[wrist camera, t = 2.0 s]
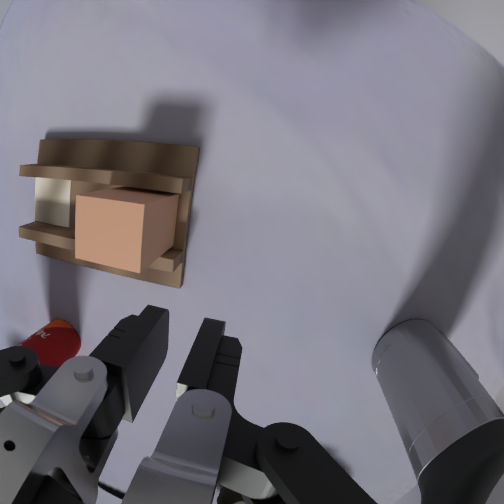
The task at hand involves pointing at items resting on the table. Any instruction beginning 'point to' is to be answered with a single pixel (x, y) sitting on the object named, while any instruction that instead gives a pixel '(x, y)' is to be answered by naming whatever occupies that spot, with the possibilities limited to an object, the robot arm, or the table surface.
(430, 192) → the table surface
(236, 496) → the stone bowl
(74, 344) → the paper cup
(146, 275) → the chute
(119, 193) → the block
